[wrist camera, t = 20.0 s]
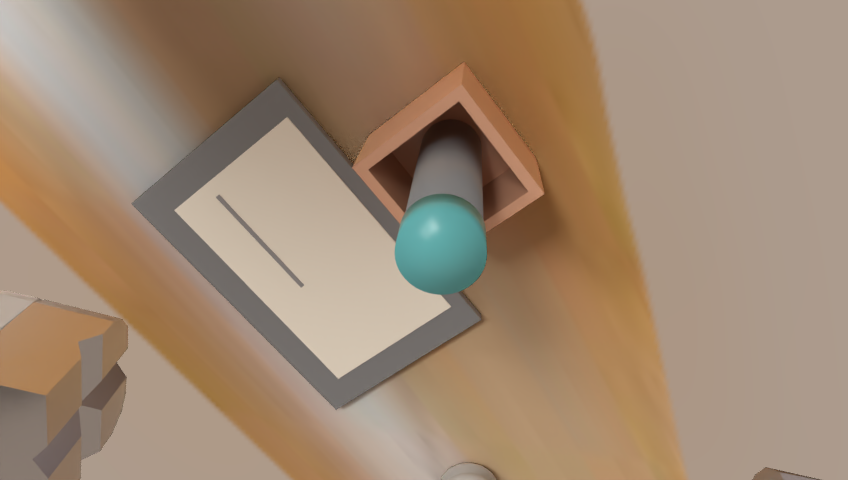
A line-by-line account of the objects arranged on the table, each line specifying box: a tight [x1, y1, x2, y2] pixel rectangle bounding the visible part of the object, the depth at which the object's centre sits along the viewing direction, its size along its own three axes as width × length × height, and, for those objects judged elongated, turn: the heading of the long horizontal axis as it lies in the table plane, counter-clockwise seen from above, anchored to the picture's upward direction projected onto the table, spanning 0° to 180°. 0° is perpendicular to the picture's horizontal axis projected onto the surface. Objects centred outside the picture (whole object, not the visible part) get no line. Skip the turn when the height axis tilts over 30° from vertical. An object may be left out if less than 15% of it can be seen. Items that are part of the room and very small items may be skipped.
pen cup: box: [352, 62, 544, 233], centre depth 39 cm, size 7×7×6 cm
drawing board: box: [132, 78, 481, 410], centre depth 45 cm, size 20×13×1 cm, turn 38°
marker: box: [395, 119, 487, 295], centre depth 35 cm, size 4×4×14 cm
